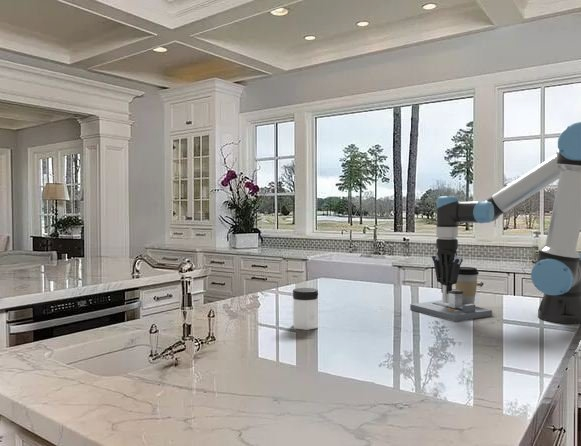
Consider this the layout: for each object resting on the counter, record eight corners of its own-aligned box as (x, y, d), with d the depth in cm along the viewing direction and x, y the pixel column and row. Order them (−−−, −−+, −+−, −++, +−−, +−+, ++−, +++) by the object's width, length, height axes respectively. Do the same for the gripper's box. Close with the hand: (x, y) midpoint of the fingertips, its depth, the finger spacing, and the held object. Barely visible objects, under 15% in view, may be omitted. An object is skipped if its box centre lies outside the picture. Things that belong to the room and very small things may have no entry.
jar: (301, 331, 153) (301, 293, 152) (287, 326, 160) (286, 289, 159) (324, 327, 158) (324, 290, 157) (309, 322, 165) (309, 286, 164)
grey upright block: (463, 307, 176) (463, 290, 176) (454, 308, 174) (455, 291, 174) (455, 305, 179) (455, 289, 179) (447, 306, 177) (447, 290, 177)
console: (491, 315, 173) (492, 302, 173) (455, 321, 165) (455, 307, 165) (445, 304, 193) (445, 293, 193) (410, 309, 184) (410, 297, 184)
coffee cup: (482, 309, 184) (482, 269, 183) (457, 309, 184) (457, 269, 184) (473, 304, 193) (473, 266, 193) (449, 304, 193) (449, 266, 193)
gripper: (468, 239, 175) (467, 304, 176) (441, 237, 187) (440, 298, 188) (453, 239, 172) (452, 306, 173) (426, 237, 183) (426, 300, 184)
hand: (446, 302), depth 180 cm, fingers closed
